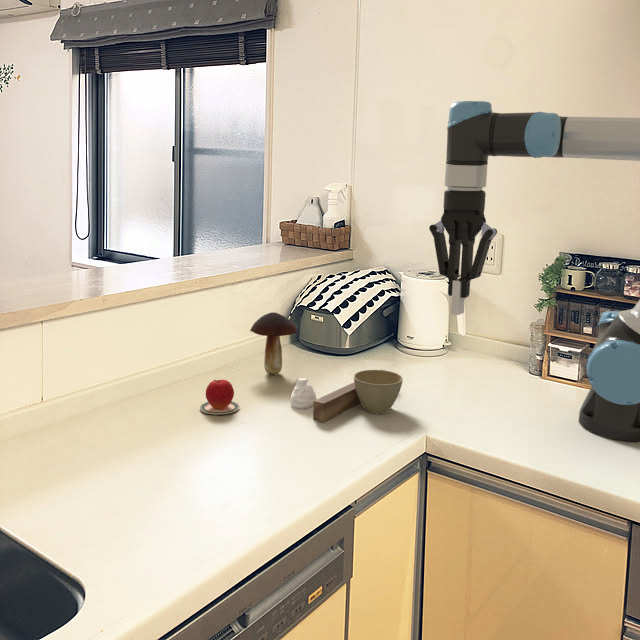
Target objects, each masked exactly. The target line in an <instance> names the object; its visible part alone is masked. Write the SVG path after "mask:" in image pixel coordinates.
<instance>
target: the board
mask: <svg viewBox="0 0 640 640" xmlns="http://www.w3.org/2000/svg"><path fill="white" fill-rule="evenodd" d="M380 370H383V369H380ZM316 399H317V400H314V403H313V407H312V408H313V411H312V412H313V413H312V414H313V415H312V420H313V421H316V422H319V423H323V424H324V423H326V422H327V421H329V420H331V419H333V418H335V417H337V416H339V415H341V414H343V413H345V412H347V411H349V410H351V409H352V408H355V407H357V406H359V405H360V404H361V402H360V400H359V398H358V395H357V392H356V388H355V383H354V381H353V382H351V383H350V384H347V385H345V386H343V387H341V388H339V389H336V390H334V391H332V392H330V393H328V394H327V393H326V395H324V396H320V397H318V398H316ZM361 405H362V404H361Z"/></svg>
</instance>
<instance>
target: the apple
mask: <svg viewBox="0 0 640 640" xmlns="http://www.w3.org/2000/svg"><path fill="white" fill-rule="evenodd" d="M234 397H235V390H234V387H233V385H232V382H230V381H228V380H227V379H218V380H217V379H213V380H212V381H211V382H209V384H208V385H207V386H206V389H205V398H206V400H207V401H205V402H203V403H202V404H201V405H199V409H200V411H201V412H203V413H205V414H210V415H228V414H232V413H235V412H236V411H238V410H239V409H240V404H239V403H238V402H236V401H233V399H234Z"/></svg>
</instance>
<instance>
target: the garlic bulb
mask: <svg viewBox="0 0 640 640" xmlns="http://www.w3.org/2000/svg"><path fill="white" fill-rule="evenodd" d="M308 380H309V379H307V378H302V377H301V378H298V379H297V381H296V383H295V384H296V385H294V388H293V389H292V392H291V396H290V401H289V402H290V405H291V406H292V407H293V408H294V409H299V410H307V409H311V408H313V403H314V400H317V399H318V398H317V394H316V392H315V390H314V388H313V387H312V385H311V384H310V383H308Z"/></svg>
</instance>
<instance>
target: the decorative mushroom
mask: <svg viewBox="0 0 640 640" xmlns="http://www.w3.org/2000/svg"><path fill="white" fill-rule="evenodd" d="M249 332H252V333H254V334H256V335H258V336H259V335H260V336H264V337H265V336H266V341H265V348H264V359H263V360H264V364H263V365H264V371H265V372H266V373H267V374H268V375H272V376H275V375H278V374H279V373H280V372H281V371H282V368H283V350H282V344H281V337H285V336H289V335H294V334H296V333H297V332H298V329H297V327H296V325H295V323H294V322H293V321H292V320H291V319H289V318H288V317H286V316H285V315H282V314H280V313H278V312H268V313H266V314H263V315H262V316H260V318H258V319H256V321H255V322H254V323H253V325H252V326H251V328H250V330H249Z"/></svg>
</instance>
